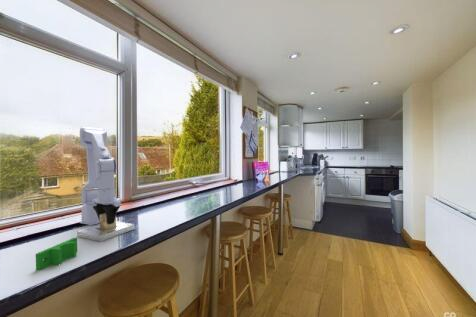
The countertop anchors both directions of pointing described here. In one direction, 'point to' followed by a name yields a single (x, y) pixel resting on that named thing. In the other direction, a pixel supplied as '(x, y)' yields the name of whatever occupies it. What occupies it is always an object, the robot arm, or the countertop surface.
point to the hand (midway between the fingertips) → (106, 223)
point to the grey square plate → (102, 235)
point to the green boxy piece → (56, 254)
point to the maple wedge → (104, 224)
